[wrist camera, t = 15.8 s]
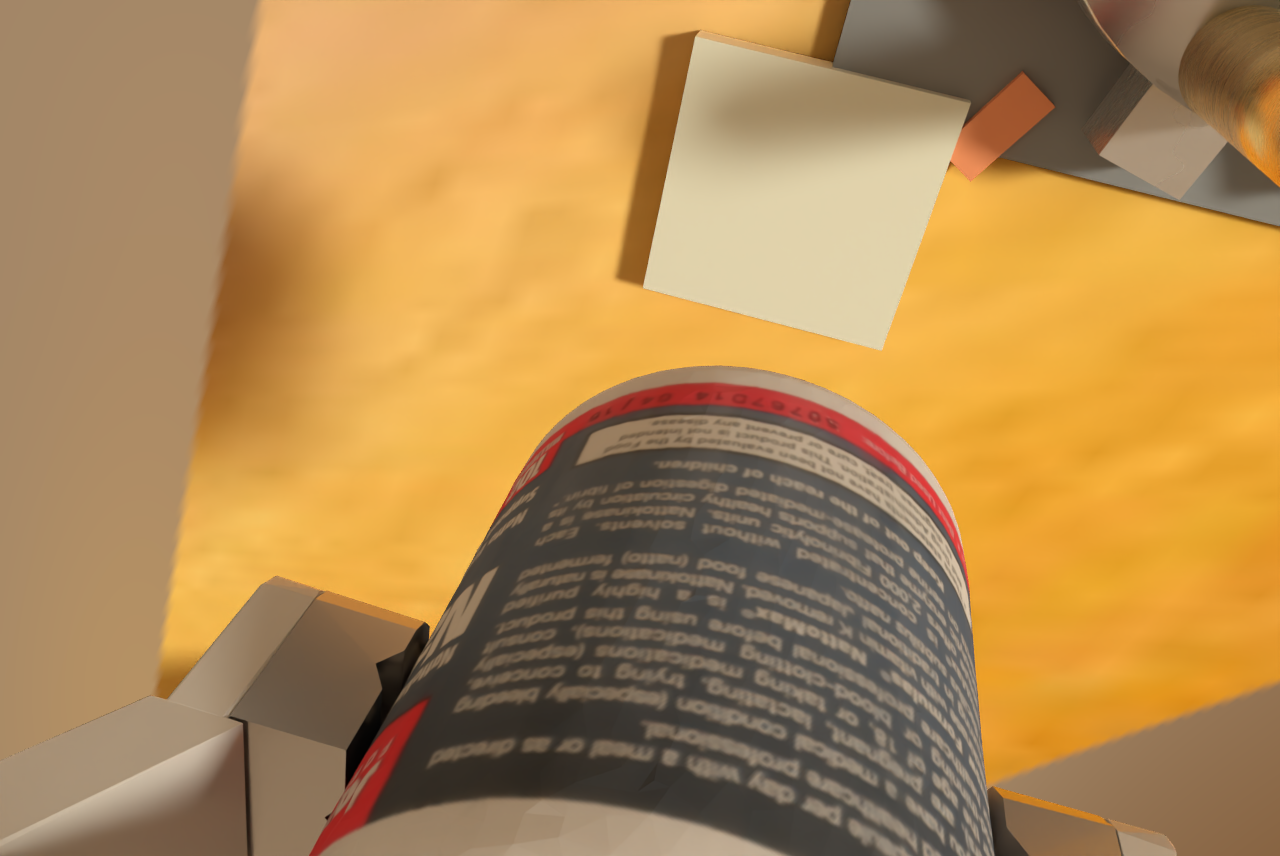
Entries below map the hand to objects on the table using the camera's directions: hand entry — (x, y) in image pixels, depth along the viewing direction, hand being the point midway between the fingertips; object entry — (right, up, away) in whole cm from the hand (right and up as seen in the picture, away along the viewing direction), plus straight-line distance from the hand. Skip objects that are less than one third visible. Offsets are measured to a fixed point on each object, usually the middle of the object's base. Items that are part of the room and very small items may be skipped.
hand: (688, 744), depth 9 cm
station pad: (+3, +8, +14) cm, 17 cm away
